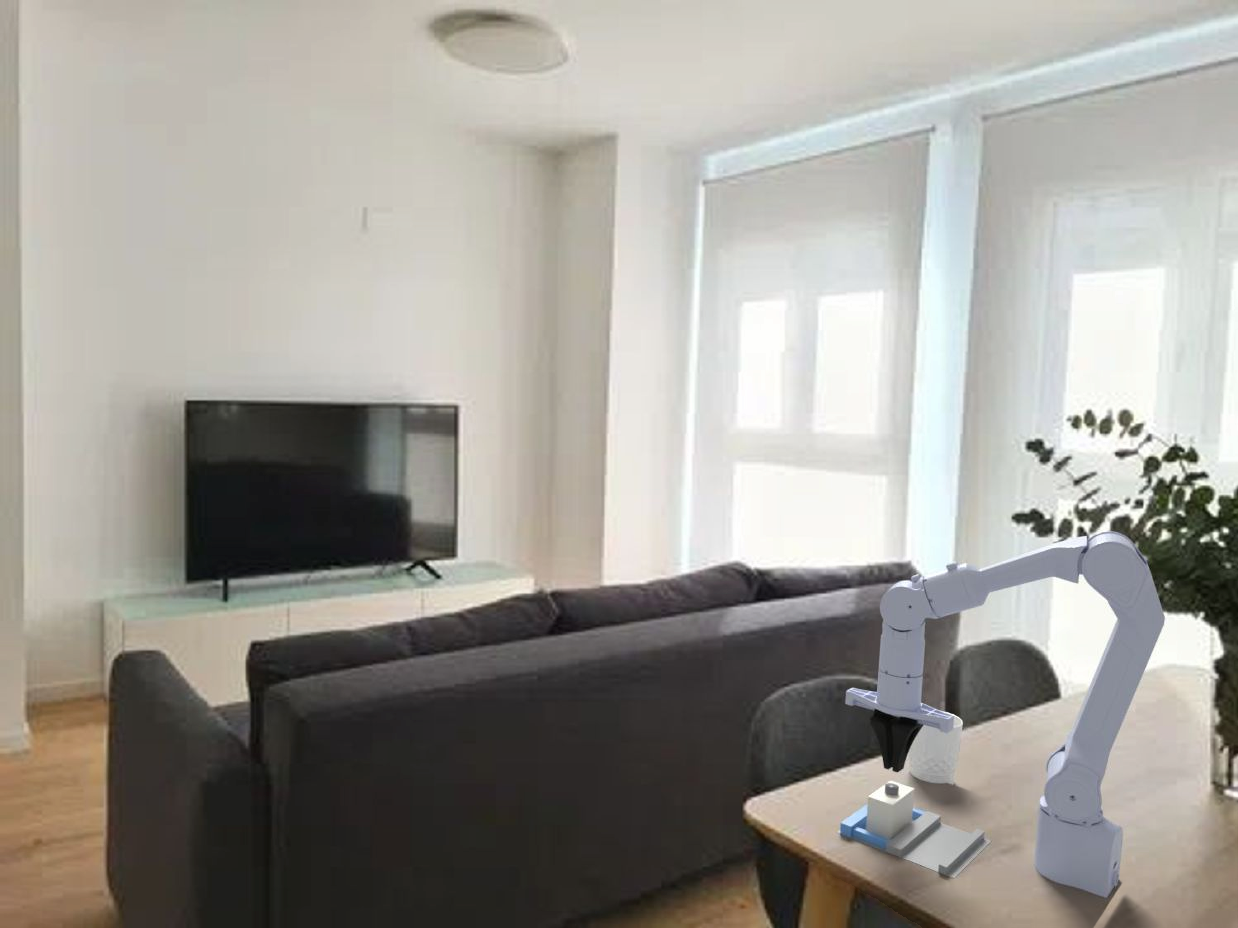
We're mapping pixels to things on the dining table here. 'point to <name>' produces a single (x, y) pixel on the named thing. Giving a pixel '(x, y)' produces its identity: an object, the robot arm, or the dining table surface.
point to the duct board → (922, 841)
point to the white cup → (936, 753)
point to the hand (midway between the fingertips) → (893, 768)
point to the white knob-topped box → (890, 809)
